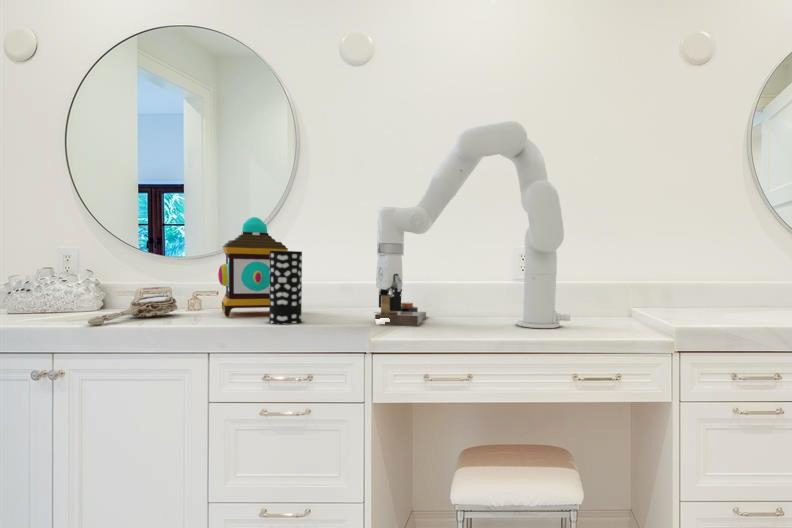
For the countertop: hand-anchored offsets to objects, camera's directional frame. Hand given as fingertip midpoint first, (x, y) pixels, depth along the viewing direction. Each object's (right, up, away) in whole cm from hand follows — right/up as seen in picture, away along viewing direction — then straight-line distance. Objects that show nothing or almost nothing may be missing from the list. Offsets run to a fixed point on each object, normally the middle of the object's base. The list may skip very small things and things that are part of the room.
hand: (389, 309), depth 160 cm
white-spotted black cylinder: (-28, -4, -5) cm, 29 cm away
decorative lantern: (-44, -2, +11) cm, 46 cm away
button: (+3, 0, +13) cm, 13 cm away
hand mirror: (-68, -3, -10) cm, 69 cm away
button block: (+2, -3, +13) cm, 14 cm away
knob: (0, -1, 0) cm, 1 cm away
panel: (+3, -4, 0) cm, 5 cm away
